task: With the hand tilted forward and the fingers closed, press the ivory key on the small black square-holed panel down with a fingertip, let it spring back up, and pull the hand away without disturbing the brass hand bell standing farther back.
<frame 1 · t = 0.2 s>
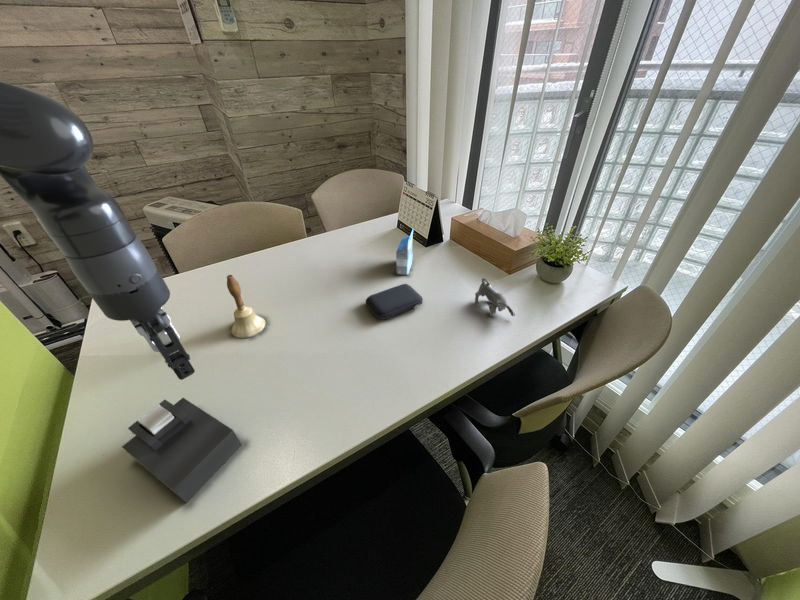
hand: (176, 360, 51), 19 cm above the table, tool pointing down, fingers open, 8 cm apart
carrying case: (395, 306, 91), on the table
tape cartridge: (404, 267, 107), on the table
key: (156, 419, 56), point 7 cm above the table, slide at 0.1 cm
dog figurine: (491, 309, 90), on the table
hand bell: (249, 327, 85), on the table
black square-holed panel: (190, 453, 59), on the table
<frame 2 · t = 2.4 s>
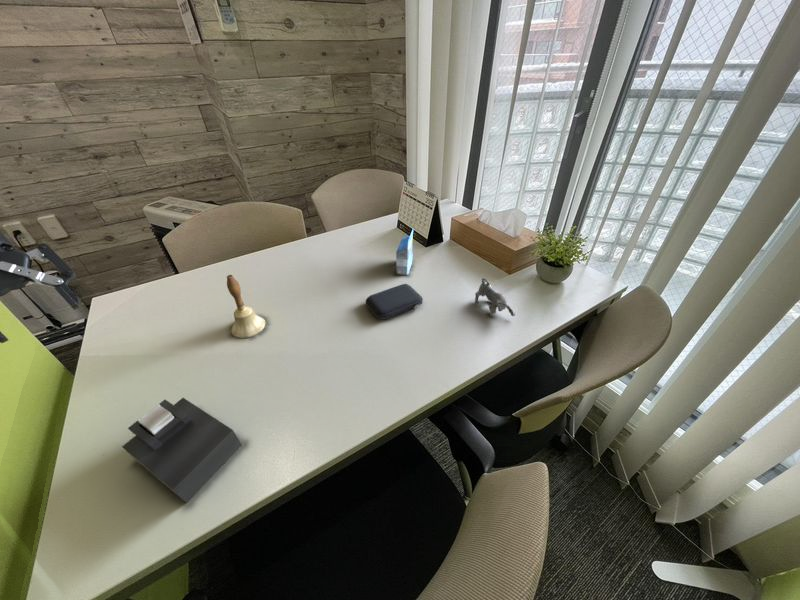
hand: (42, 323, 48), 26 cm above the table, tool tilted 40°, fingers open, 8 cm apart
nothing on the table moved.
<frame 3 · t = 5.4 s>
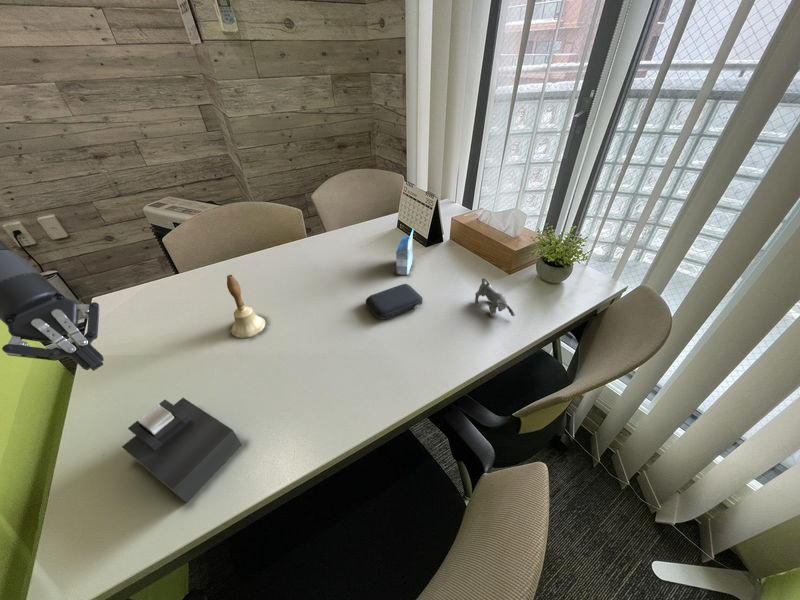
hand: (98, 366, 54), 16 cm above the table, tool tilted 45°, fingers closed
nothing on the table moved.
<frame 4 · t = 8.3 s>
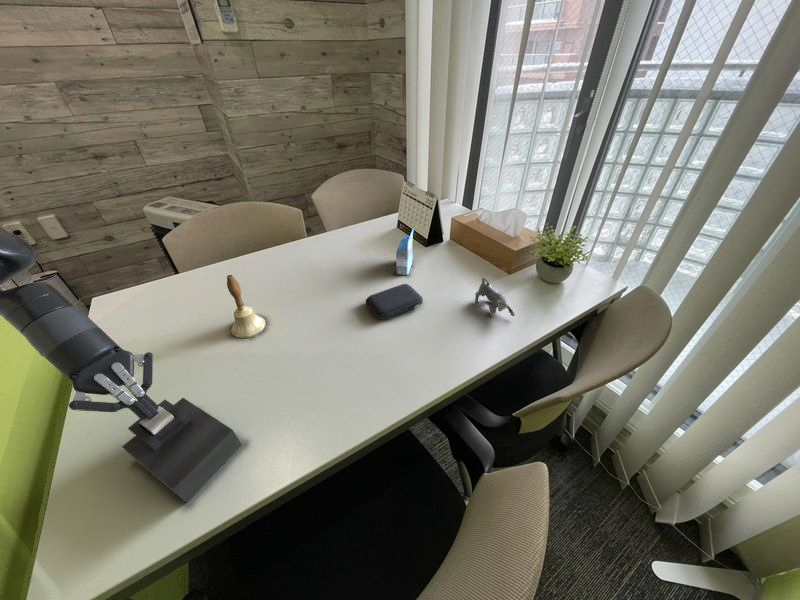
hand: (154, 416, 55), 8 cm above the table, tool tilted 45°, fingers closed
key: (158, 421, 56), point 7 cm above the table, slide at -0.4 cm, touching gripper
everything else where it was.
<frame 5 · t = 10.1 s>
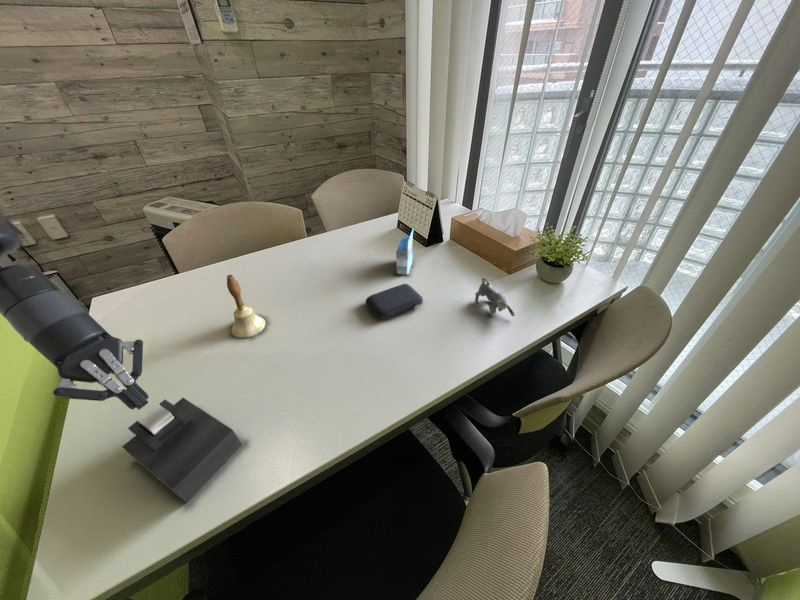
hand: (143, 405, 53), 12 cm above the table, tool tilted 45°, fingers closed
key: (156, 419, 56), point 7 cm above the table, slide at 0.1 cm
everything else where it was.
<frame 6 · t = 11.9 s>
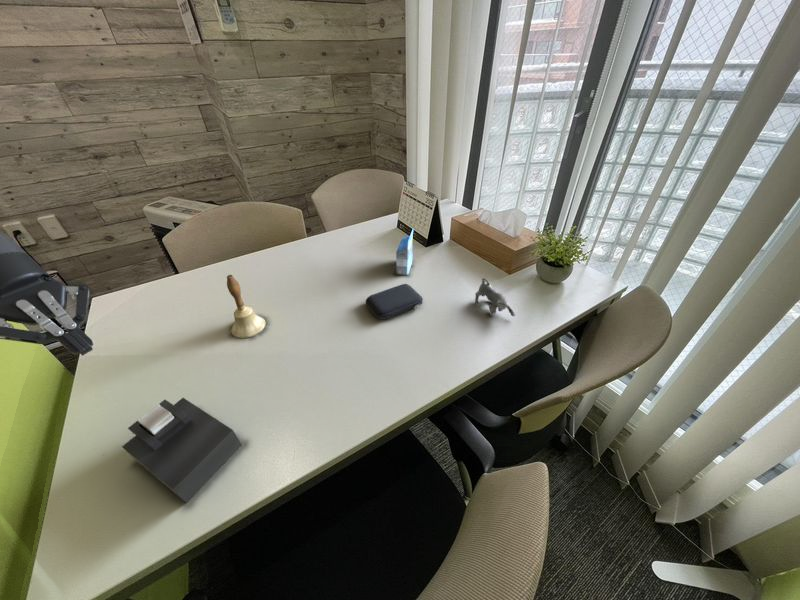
hand: (87, 351, 51), 20 cm above the table, tool tilted 45°, fingers closed
nothing on the table moved.
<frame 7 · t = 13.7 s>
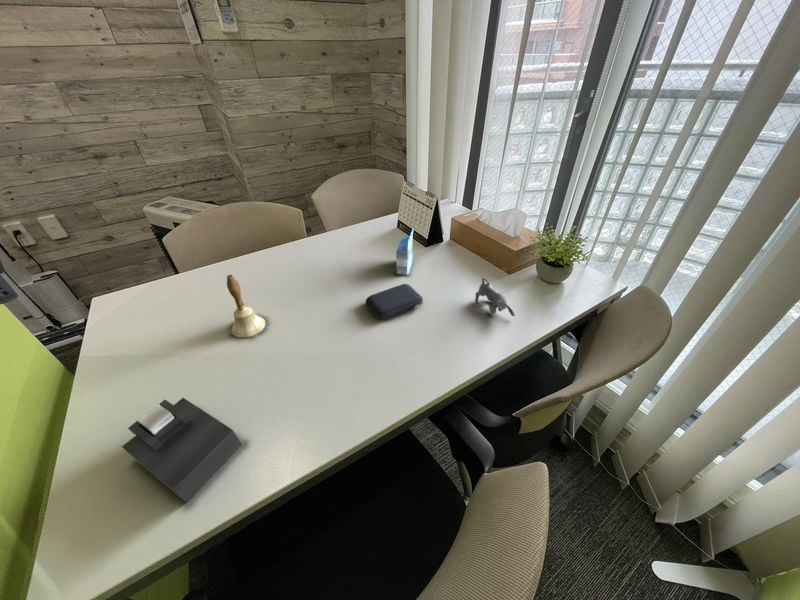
hand: (7, 300, 45), 30 cm above the table, tool pointing down, fingers closed
nothing on the table moved.
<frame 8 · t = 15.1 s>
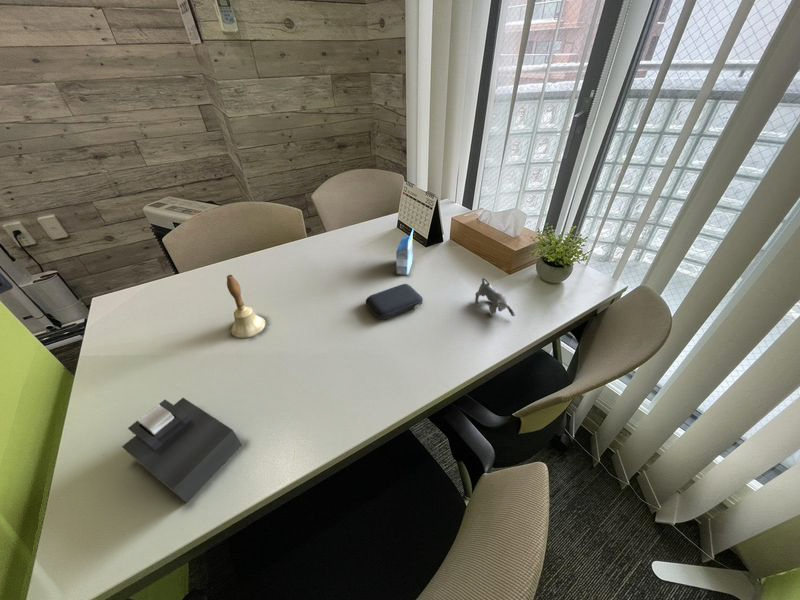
hand: (2, 290, 44), 32 cm above the table, tool pointing down, fingers closed
nothing on the table moved.
at the end: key pushed in 1.3 cm at the most during the clip, back to where it started at the end; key slide at 0.1 cm; hand bell moved 0.2 cm from its start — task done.
